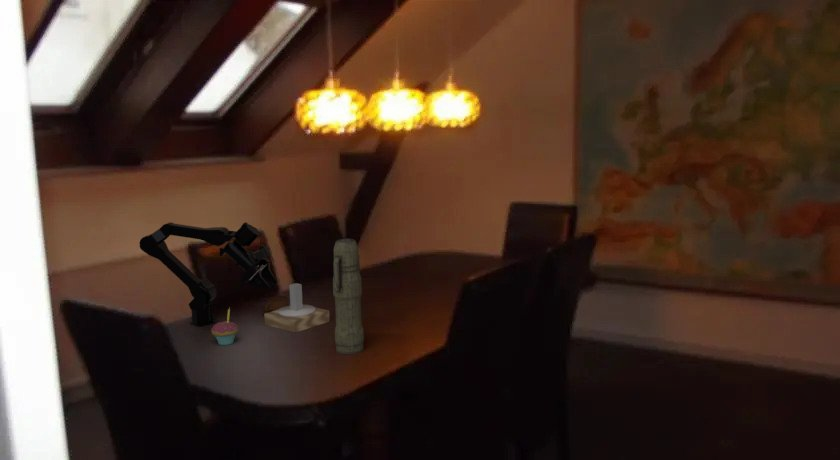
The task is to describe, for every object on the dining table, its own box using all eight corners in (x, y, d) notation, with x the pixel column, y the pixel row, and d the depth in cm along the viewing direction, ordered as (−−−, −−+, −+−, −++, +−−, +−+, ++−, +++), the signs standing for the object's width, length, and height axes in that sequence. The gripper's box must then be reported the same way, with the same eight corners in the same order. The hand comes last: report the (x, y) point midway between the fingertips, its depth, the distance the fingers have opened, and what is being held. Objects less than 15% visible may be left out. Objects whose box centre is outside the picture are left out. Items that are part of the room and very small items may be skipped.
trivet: (295, 332, 252) (294, 321, 251) (264, 324, 262) (264, 313, 261) (329, 321, 264) (329, 310, 263) (299, 314, 274) (298, 303, 273)
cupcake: (241, 338, 246) (239, 303, 244) (236, 346, 238) (233, 310, 236) (215, 339, 246) (213, 304, 244) (209, 347, 238) (206, 311, 236)
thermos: (370, 345, 236) (367, 237, 231) (353, 357, 226) (349, 243, 220) (346, 342, 240) (342, 235, 234) (328, 354, 229) (323, 242, 223)
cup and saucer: (286, 319, 268) (285, 303, 267) (256, 318, 271) (255, 301, 270) (300, 310, 279) (299, 295, 278) (271, 309, 283) (270, 293, 282)
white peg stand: (295, 319, 253) (293, 290, 251) (270, 313, 261) (268, 285, 260) (323, 310, 263) (321, 283, 261) (298, 305, 271) (297, 278, 270)
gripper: (248, 244, 250) (282, 276, 251) (262, 234, 268) (294, 264, 269) (226, 267, 251) (260, 298, 253) (242, 256, 270) (274, 285, 271)
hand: (273, 286), depth 261 cm, fingers open, 9 cm apart
